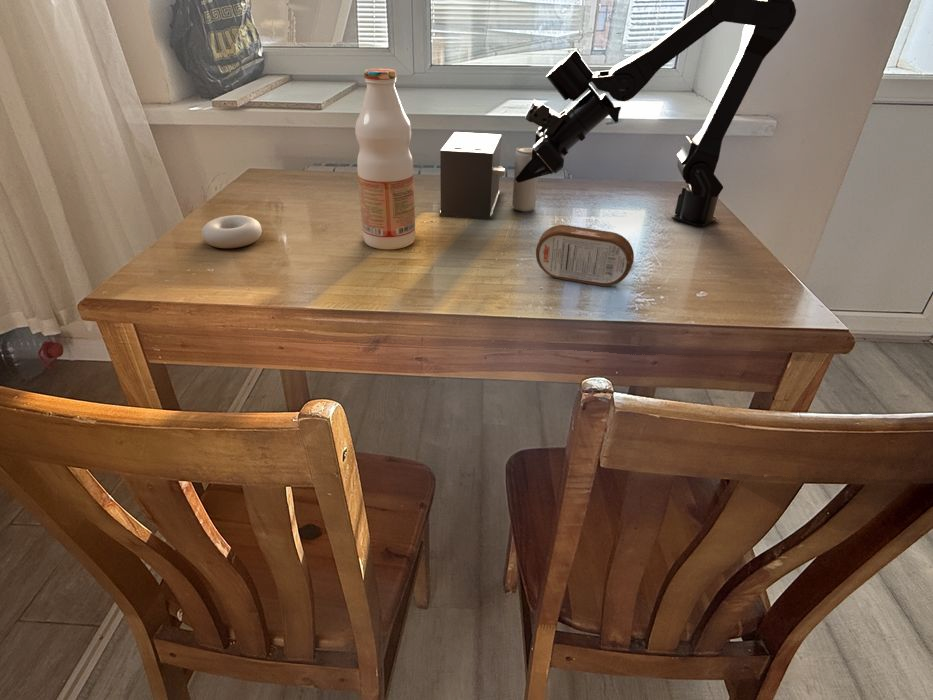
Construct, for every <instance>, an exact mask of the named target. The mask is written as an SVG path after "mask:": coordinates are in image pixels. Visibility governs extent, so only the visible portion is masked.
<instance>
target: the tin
mask: <svg viewBox="0 0 933 700" xmlns="http://www.w3.org/2000/svg"><path fill="white" fill-rule="evenodd" d="M634 253H635V252H634V249H633V246H632V245H631V243H630V242H629V240H627V238H626V237H624V236H623V235H621V234H619V233H617V232H613V231H607V230H601V229H594V228H586V227H580V226H575V225H567V224H558V225H554V226H551V227H549V228H548V229H546V230H545V231H544V232H543V233H542V234H541V235H540V238H539V240H538V242H537V245H536V248H535V259H536V262H537V264H538V266H539V268H540V269H541V270H542V271H543V272H544V273H545V274H546V275H548V276H550V277H551V278H555V279H558V280H565V281H571V282H575V283H576V282H577V283H582V284H588V285H594V286H600V287H612V286H615V285H617V284H619V283H621V282H623V280H624V279H626V277H627V276H628V275H629V273H630V271H631V269H632V266H633V264H634V261H635V260H634V259H635V254H634Z"/></svg>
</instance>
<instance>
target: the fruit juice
mask: <svg viewBox="0 0 933 700" xmlns="http://www.w3.org/2000/svg"><path fill="white" fill-rule="evenodd" d="M363 77H364V82H365V83H366V88H365V89H366V90H365V93H364V97H363V101H362V105H361V109H360V112H359V115H358V116H357V119H356V121H355V125H354V129H355V130H354V133H355V138H356V142H357V144H358V148H359V150H358V153H357V154H358V155H357V158H356V159H357V160H356V161H357V162H356V166H357V167H356V168H357V182H358V193H359V205H360V217H361V219H360V220H361V229H362V237H363V238H362V239H363V241H364V243H365V244H366V245H367V246H369V247H370V248H374V249H377V250H399V249H402V248H406V247H409V246H410V245H412V244H414V241H415V240H416V212H415V211H416V210H415V209H416V208H415V206H416V205H415V182H414V181H415V180H414V179H415V178H414V176H415V175H414V160H413V155H412V153H411V151H410V143H411V138H412V125H411V122H410V119H409V118H408V116H407V114H406V113H405V111H404V108H403V106H402V103H401V99H400V98H399V94H398V92H397V89H396V87H395V83H396V82H397V72H396V70H395V69H393V68H378V67H377V68H366V69H365V70H364V73H363Z"/></svg>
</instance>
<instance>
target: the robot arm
mask: <svg viewBox="0 0 933 700" xmlns="http://www.w3.org/2000/svg"><path fill="white" fill-rule="evenodd" d="M796 15H797V9H796V5H795V2H794V1H793V0H708V1H707V2H706V3H704V5H702V6H701V7H700V8H699V9H697V10H696V11H695V12H694V13H692V14H691V15H689V16H688V17H687V18H686V19H685V20H683V21H681V22H680V23H679V24H678V25H677V26H675V27H673V29H671V30H670V31H669V32H668V33H666V34H665V35H664V36H662V37H661V38H660V39H658V40H657V41H655V42H654V43H653V44H652V45H651V46H650V47H648V48H646V49H644V50H642V51H641V52H638V53H636V54H634V55H632V56H630V57H628V58H626V59H624V60H622V61H620V62H619V63H617V64H615V65H614V66H612V68H610V69H607V70H600V71H599V70H597V71H592V70H591V69H590V68H589V66H588V64H587V63H586V62H585V61H584V60H583V58H582V55H581V54H580V52H579V51H578V50H577V49H574V50H573V51H572V52H571V53H570V54H568V56H566V57H565V58H564V59H563V60H560V61H559V62H558V63H557V64H556V65H555V66H554V67H553V68H552V69H551V70H550V71H549V72H548V74H546V76H545V77H546V78H547V80H548V81H549V82H550V84H551V86H553V87H554V89H555V90H556V91H557V92H558V94H559V95H560V96H561V98H562V99H563V100H564V101H567V100H570V101H572V102H575V101H576V100H577V99H578V101H576V102H575V103H574V104H573V105H572V106H571V107H570V108H568V109H563V110H561V112H560V113H559V112H557V111H556V110H554V109H552V108H551V107H550V106H549V105H548V106H547V105H545V103H543V102H540V101H538V100H536V99H533V100H532V102H531V104H530V106H529V108H528V110H527V112H526V113H525V117H524V119H525V120H526V121H527V122H529V123H533V124H535V125H536V126H539V127H538V129H537V130H536V132H535V140H534V144H533V145H532V147H533V149H532V158H531V159H530V160H529V162H528V163H527V164H526V165H525V167H524V168H523V169H522V170H521V172H520V173H519V174H518V175H517V177H516V178H515V180H516V181H517V182H518V183H520V182H523V181H527V180H530V179H533V178H536V177H538V178H539V177H543V176H546V175H547V176H548V175H553V174H557V173H559V171H561V170H562V169H563V168H564V166H565V165H564V164H565V156H566V155H568V154H569V150H570V149H572V147H574V146H575V145H576V144H577V143H579V142H582V141H584V140H585V139H586V136H587V135H588V134H589V133H590V132H591V131H592V130H594V128H596V127H597V126H598V125H599V124H601V123H602V122H603V121H604V120H605V119H606V118H608V117H610V118H611V119H612V121H613V122H614V123H618V122H619V117H620V111H621V109H622V107H621V105H620V104H614V103H613V102H612V100H611V99H610V98H609V97H608V95H607V94H606V93H608V94H609V96H610V97H611V98H612V99H613V100H615V101H618V102H629V101H630V100H632V99H633V98H635V96H636V95H637V94H638V93H640V91H641V90H643V88H645V86H646V85H647V84H648V83H649V82H650V81H651V80H652V78H653V77H654V76H655V75H656V74H657V72H659V70H660V69H661V68H663V67H664V66H665V65H667V64H668V63H669V62H670V61H672V60H673V59H674V58H676V57H678V56H679V55H680V54H682V53H683V52H684V51H685V50H686V49H688V48H689V47H690V46H692V45H693V44H695V43H696V42H697V41H699V40H700V39H701V38H703V37H704V36H705V35H706V34H708V33H710V31H712V30H713V29H714V28H716V27H717V26H719V25H720V24H722V23H724V22H725V23H733V24H741V25H744V26H743V29H742V34H741V39H740V40H741V41H740V45H739V50H738V52H737V54H736V56H735V59H734V61H733V63H732V65H731V67H730V68H729V70H728V73H727V75H726V77H725V79H724V82H723V83H722V85H721V87H720V89H719V92H718V94H717V96H716V98H715V100H714V101H713V104H712V106H711V107H710V110H709V112H708V114H707V116H706V119H705V120H704V122H703V124H702V126H701V128H700V129H699V131H698V132H697V133H696V134H695V135H694V137H691V136H688V135H685V138H684V141H683V144H682V147H681V149H680V151H678V153H676V157H677V164H676V165H677V169H678V172H679V174H680V175H681V177H682V179H683V180H684V182H685V184H686V185H685V186H682V188H681V193H679V194H678V196H677V199H676V206H675V210H674V215H672V216H671V220H675V221H678V222H680V223H681V222H682V223H685V224H687V225H692V226H695V227H699V228H702V227H706V226H707V225H709V224H711V223H713V222H715V221H716V220H717V217H715V216H714V215H715V211H716V208H717V203H718V200H719V195H720V194H721V192H722V191H723V189H724V185H723V184H722V183H721V181H720V180H719V178H718V177H717V176H716V175H715V172H716V168H717V166H718V163H719V160H720V154H721V149H722V145H723V144H722V143H723V140H724V137H725V135H726V133H727V131H728V130H729V128H730V126H731V124H732V122H733V120H734V118H735V115H737V112H738V110H739V109H740V106H741V104H742V102H743V100H744V99H745V96H746V94H747V92H748V90H749V89H750V86H751V84H752V82H753V81H754V79H755V77H756V75H757V73H758V71H759V69H760V67H761V65H762V63H763V61H764V59H765V58H766V57H767V56H768V54H770V53H771V51H772V50H773V49H774V48H775V47H776V46H777V45H778V44H779V42H780V41H781V40H782V38H783V37H784V36H785V34H786V33H787V32H788V30H789V28H790V27H791V25H792V24H793V22H794V20H795V19H796ZM591 83H592V84H593V85H594V86H595V88H596V89H597V90H598V91H601V92H605V93H602V94H599V93H598V92H597V91H596V89H595V88H594V87H593V86H592V84H591ZM588 90H589V91H588ZM586 91H587V93H585V92H586ZM584 93H585V94H584ZM583 94H584V95H583ZM582 95H583V96H582ZM581 96H582V97H581ZM580 97H581V98H580ZM579 98H580V99H579Z"/></svg>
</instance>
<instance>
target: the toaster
mask: <svg viewBox="0 0 933 700" xmlns="http://www.w3.org/2000/svg"><path fill="white" fill-rule="evenodd" d="M501 152H502V134H500V133H499V134H497V133H480V132H461V131H454V132H453V134H452V135H451V136H450V137H449V138H448V140H447V141H446V143H445V144H444V145H443V146H442V147H441V149H440V154H439V155H440V156H439V159H440V161H439V162H440V167H439V168H440V170H439V171H440V172H439V173H440V210H439V212H438V213H439V217H447V218H460V219H461V218H462V219H463V218H464V219H476V220H488V221H489V220H492V217H493V215H494V212H495V209H496V206H497V203H498V200H499V197H500V195H501V194H500V193H501V190H499V189H500V178H503V177H504V176H505V174H506V168H505V167H503V166H502V165H501V154H502V153H501Z"/></svg>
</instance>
